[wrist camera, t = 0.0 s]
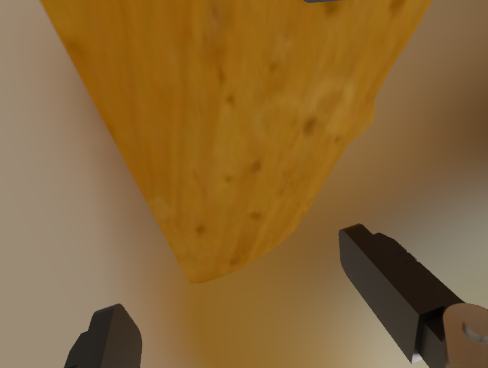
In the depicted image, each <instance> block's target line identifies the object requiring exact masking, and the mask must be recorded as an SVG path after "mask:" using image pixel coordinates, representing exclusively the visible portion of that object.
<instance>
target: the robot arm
mask: <svg viewBox="0 0 488 368" xmlns="http://www.w3.org/2000/svg"><path fill="white" fill-rule="evenodd" d="M339 247H340V260H341V264H342V267H343V269H344V271H345V273H346V275H347V276H348V278H349V279H350V281H351V282H352V283H353V285H354V286H355V288H356V289H357V290H358V292H359V293H360V294H361V296H362V297H363V298H364V300H365V301H366V302H367V304H368V305H369V306H370V308H371V309H372V311H373V312H374V313H375V315H376V316H377V318H378V319H379V320H380V322H381V323H382V324H383V326H384V327H385V328H386V330H387V331H388V333H389V334H390V335H391V337H392V338H393V339H394V341H395V342H396V343H397V345H398V346H399V347H400V349H401V350H402V351H403V353H404V354H405V356H406V357H407V358H408V360H409V361H410V362H411V364H412V363H415V362H418V361H420V360H424V361H425V362H426V364H427V365H428V366H429V368H488V309H486V308H484V307H481V306H478V305H474V304H468V303H465V302H464V301H462V300H461V299H460V298H459V297H457V296H456V295H455V294H454V293H453V292H452V291H451V290H450V289H448V288H447V287H446V286H445V285H444V284H443V283H442V282H441V281H440V280H438V278H436V277H435V276H434V275H433V274H432V273H431V272H430V271H429V270H427V269H426V268H425V267H424V266H423V265H422V264H421V263H420V262H417V259H415V258H414V257H413V256H412V255H411V254H410V253H407V251H406V250H405V249H404V248H403V247H402V246H401V245H400V244H399V243H398V242H396V241H395V240H394V239H392V238H390V237H387V236H386V235H384V234H381V233H376V234H374V235H373V234H372V233H370V232H369V231H368V230H367V229H366V228H365V227H364V226H363V225H362V224H356V225H353V226H350V227H347V228H344V229H341V230H339ZM141 353H142V338H141V334H140V331H139V329H138V327H137V326H136V324H135V323H134V321H133V320H132V318H131V317H130V316H129V314H128V313H127V311H126V310H125V308H124V307H123V306H122V305H121V304H115V305H113V306H110V307H107V308H104V309H101V310H98V311H96V312H95V313H94V314H93V316H92V319H91V322H90V326H89V329H88V331H87V332H84V333H82V334H81V335H80V336H79V338H78V339H77V341H76V343H75V344H74V346H73V347H72V349H71V350H70V352H69V355H68V358H67V361H66V363H65V367H64V368H140V362H141Z"/></svg>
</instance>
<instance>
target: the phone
mask: <svg viewBox="0 0 488 368" xmlns="http://www.w3.org/2000/svg"><path fill="white" fill-rule="evenodd" d="M304 1H306V2H308V3H313V2H325V1H337V0H304Z"/></svg>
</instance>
